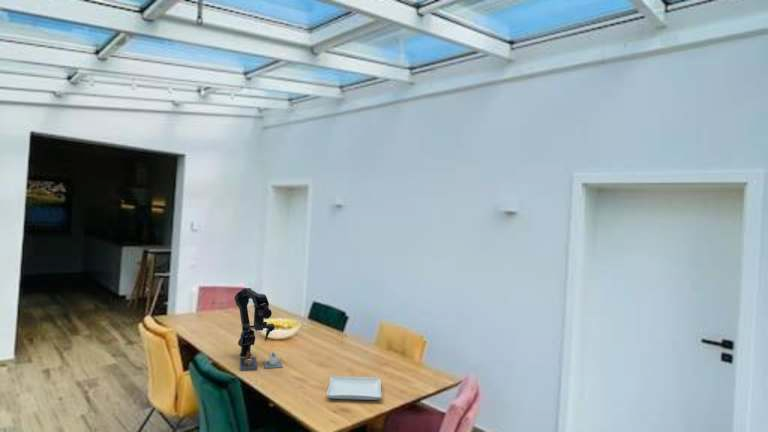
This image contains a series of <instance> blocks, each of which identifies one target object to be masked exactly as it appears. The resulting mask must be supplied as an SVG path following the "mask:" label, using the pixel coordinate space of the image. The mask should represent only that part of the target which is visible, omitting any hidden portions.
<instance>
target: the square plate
mask: <svg viewBox="0 0 768 432" xmlns="http://www.w3.org/2000/svg"><path fill="white" fill-rule="evenodd" d="M381 381H382V379H381V378H380V377H366V376H365V377H363V376H330V378H329V385H328V387H327V391H326V396H327V397H328V398H329V399H335V400H351V401H352V400H354V401H355V400H357V401H376V400H380V399H381V398H382V396H383V394H382V388H381V387H382V386H381Z"/></svg>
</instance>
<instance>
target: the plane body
mask: <svg viewBox="0 0 768 432" xmlns="http://www.w3.org/2000/svg"><path fill="white" fill-rule="evenodd" d="M250 352H251V350H250V351H247V356H245V357H240V358H239V369H240V371H241V372H243V371H257V370H258V362H257V357H256V356H254V357H253V356H250Z"/></svg>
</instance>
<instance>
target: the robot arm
mask: <svg viewBox="0 0 768 432" xmlns="http://www.w3.org/2000/svg"><path fill="white" fill-rule="evenodd" d="M250 300H252V303H253V307H254V312H253V313H254V314H253V325H251V323H250V317H249V309H248V305H249V303H250ZM234 302H235V304H236V306H237V307H238V309H239V315H240V322H241V329H242V330H241V333H240V338H239V340H238V342H237V345H238V346H240V352H239V356H240V357H246V356H247V351H250V357H252V352H251V350H252V349H251V348H252V346H255V342H256V335H255V331H257V332H258V331H264V329H266V332H265V337H264V339H265V340H264V342H267V340H268V336H269V335H270V334H271V333H272V332H273V331H275V326H276V325H275V324H274V323H268V321H264V320H265V319H267V320H268V319H270V318H271V316H272V314H273V313H272V310H271V309H270V302H269V300H268V297H267V295H266V294H265V293H258V292H256V291H255V290H253V289H252V288H250V287H246V288H245V287H244V288H242V289H241V290H240V291H238V292H237V293H236V294H235V296H234Z"/></svg>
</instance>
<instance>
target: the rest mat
mask: <svg viewBox="0 0 768 432" xmlns="http://www.w3.org/2000/svg"><path fill="white" fill-rule="evenodd" d="M263 366H264V369H266V370H267V369H282V368H284V367H283V363H282V361H281V359H277V365H271V366H270V364H269V360H263Z"/></svg>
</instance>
